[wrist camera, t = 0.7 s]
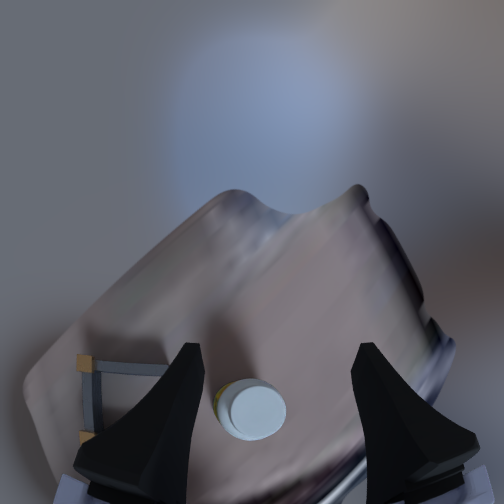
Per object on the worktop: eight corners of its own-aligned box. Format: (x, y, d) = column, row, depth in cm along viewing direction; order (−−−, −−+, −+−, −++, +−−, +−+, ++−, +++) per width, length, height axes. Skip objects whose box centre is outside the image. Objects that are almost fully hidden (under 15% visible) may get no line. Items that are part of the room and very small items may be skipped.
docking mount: (175, 448, 22) (172, 456, 19) (93, 440, 20) (80, 446, 17) (170, 364, 26) (166, 360, 23) (90, 358, 24) (76, 354, 21)
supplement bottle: (273, 415, 26) (308, 424, 17) (227, 438, 24) (243, 460, 15) (249, 372, 27) (275, 364, 19) (203, 393, 26) (207, 396, 17)
